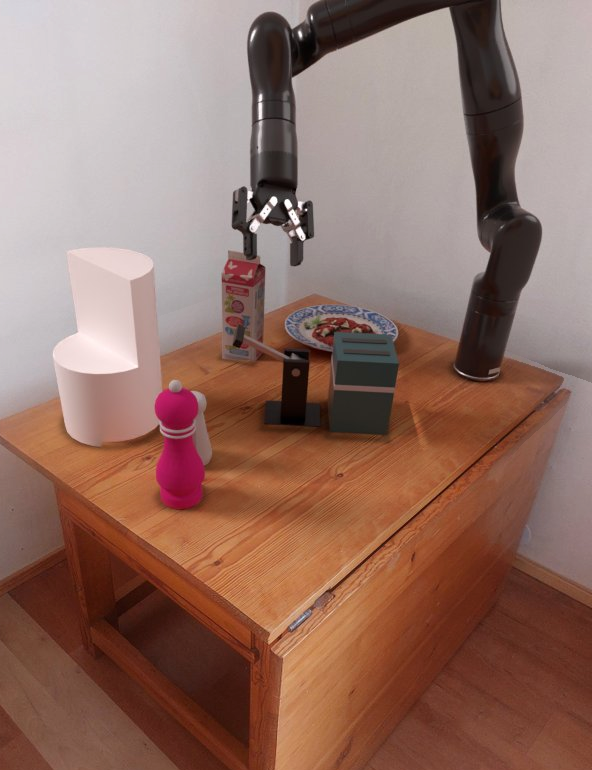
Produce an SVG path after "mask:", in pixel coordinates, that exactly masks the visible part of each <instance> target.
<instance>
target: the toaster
mask: <svg viewBox="0 0 592 770" xmlns="http://www.w3.org/2000/svg"><path fill="white" fill-rule="evenodd" d="M394 343H395V342H393V339H392V336H391V335H388V334H368V333H348V332H334V342H333V352H331V353H332V354H331V358H330V359H331V360H330V361H331V364H330V372H329V373H330V374H329V381H328V392H327V412H328V427H329V433H337V434H338V433H339V434H358V435H359V434H360V435H379V436H388V432H389V426H390V420H391V414H392V408H393V402H394V396H395V393H396V384H397V378H398V373H399V367H400V362H399V358H398V354H397V350H396V347H395V344H394Z"/></svg>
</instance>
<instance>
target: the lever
mask: <svg viewBox="0 0 592 770" xmlns="http://www.w3.org/2000/svg"><path fill="white" fill-rule="evenodd" d="M244 333H245V327H244V326H242V325H240V324H238V326H237V328H236V330H235V334H234V339H233V344H232V345H233V346H235V347H237V348H240V347H241V345H242V343H245V344H247V345H249V346H251V347H253V348H255V349H257V350H259V351H261V352H262V354H264V355H267V356H269V357H272V358H273V359H274V360H275V359H276V360H277V361H279V362H281V363H283V361H284V359H297V360H306V359H304V358H302V357H300V356H298V355H296V354H294V353H292V354H291V356H290V357H288V356H286V355H284V353H282V352H280V351H279V350H276V349H274V348H272V347H271V346H268V345H267V344H264V342H263V343H261V342H259V341H257V340H255V339H253V338H251V337H249V336H247V335H245V334H244Z"/></svg>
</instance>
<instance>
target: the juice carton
mask: <svg viewBox="0 0 592 770" xmlns="http://www.w3.org/2000/svg"><path fill="white" fill-rule="evenodd" d="M265 295H266V266H265V265H263V264H261V255H259V254H257V257H256V259H253V260H247V259H246V256H244V253H243V252H240V251H236V250H235V251H234V250H228V251H227V261H226V263H225V265H224V267H223V268H222V271H221V359H222V360H233V361H234V360H235V361H252V362H255V361H257V360H258V358H259V357H260V356H261V355H262V354H263V352H261V351H259V350H257V349H255V348H253V347H251V346H249V345H247V344H245V343H242V345H241V347H240V348H237V347H235V346H233V345H232V344H233V339H234V334H235V330H236V328H237V326H238V324H240V325H242V326H244V327H245V333H244V334H245V335H247V336H249V337H251V338H253V339H255V340H257V341H259V342H261V343H263V344H264V330H265V329H264V328H265V327H264V326H265V325H264V324H265V297H266V296H265Z"/></svg>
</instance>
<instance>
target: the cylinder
mask: <svg viewBox="0 0 592 770" xmlns="http://www.w3.org/2000/svg"><path fill="white" fill-rule="evenodd" d="M65 254H66V260H67V267H68V273H69V274H68V275H69V281H70V287H71V293H72V300H73V306H74V314H75V320H76V328H77V332H76V333H74V334H71V335H68V336H67V337H64V338H63V339H62V340H59V342H58V343H57V344H56V345H55V346H54V347H53V351H52V359H53V365H54V371H55V372H54V373H55V376H56V383H57V387H58V394H59V399H60V405H61V410H62V416H63V421H64V427H65V429H66V433H67V434H68V435H69V436H70V437H71V438H72V439H73V440H75V441H77V442H79V443H81V444H84V445H88V446H91V447H96V448H97V447H99V448H100V447H101V448H102V446H103V444H104V443H117V442H118V443H119V442H124V441H129V440H134V439H136V438H140V437H143V436H145V435H147V434H148V433H150V432H152V431H153V430H155V429H156V428H157V427H158V426H160V424H159V423H160V420H159V419H158V418H157V416H156V414H155V401H156V398H157V397H158V395H159V394H160V393H161V392H162V391H164V389H163V378H162V365H161V364H162V363H161V351H160V349H161V348H160V335H159V322H158V321H159V320H158V309H157V307H158V306H157V293H156V281H155V280H156V279H155V266H154V260H152V258H151V257H149V255H146V254H144V253H142V252H139V251H136V250H133V249H127V248H121V247H109V246H108V247H107V246H105V247H103V246H101V247H99V246H98V247H95V246H94V247H82V248H76V249H70V250H65Z"/></svg>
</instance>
